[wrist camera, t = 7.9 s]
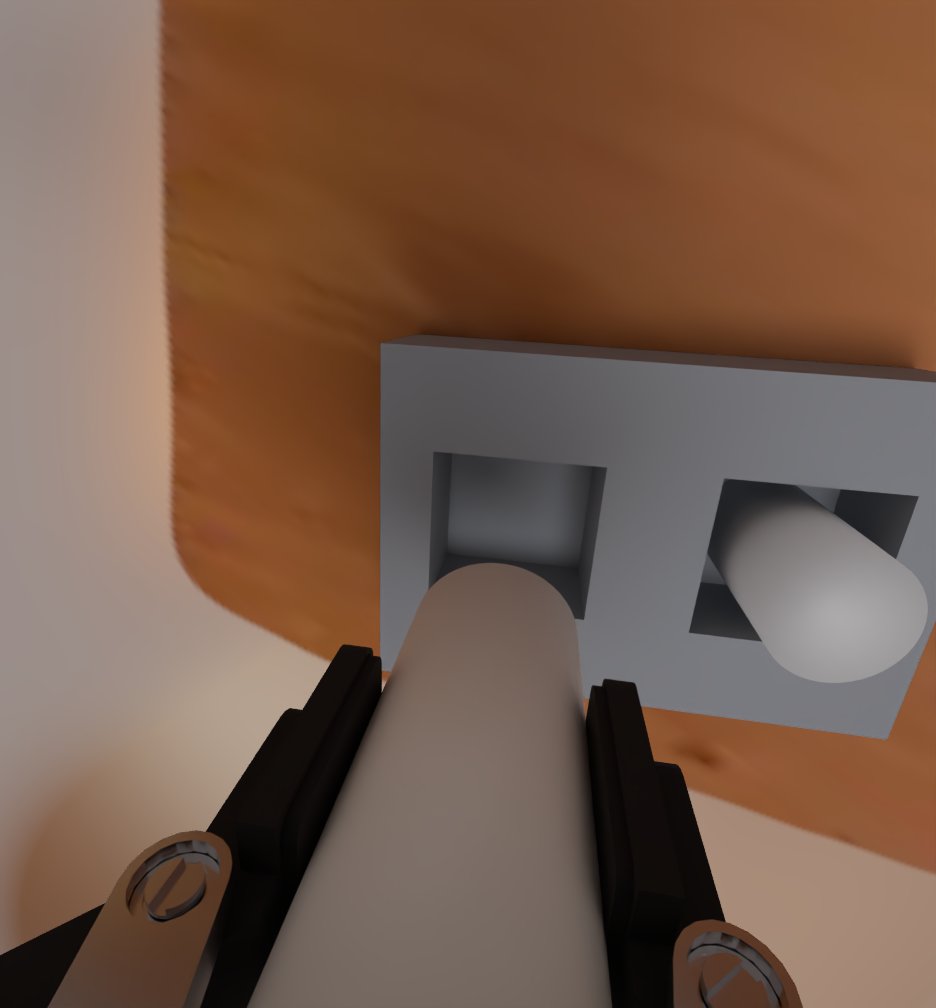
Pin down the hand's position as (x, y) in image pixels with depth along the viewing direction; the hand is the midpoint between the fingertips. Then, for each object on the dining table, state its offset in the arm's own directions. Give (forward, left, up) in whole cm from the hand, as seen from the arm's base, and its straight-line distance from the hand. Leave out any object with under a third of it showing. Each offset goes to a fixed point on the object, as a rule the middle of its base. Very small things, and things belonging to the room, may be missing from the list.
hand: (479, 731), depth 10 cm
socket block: (0, +5, -14) cm, 14 cm away
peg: (0, 0, -3) cm, 3 cm away
